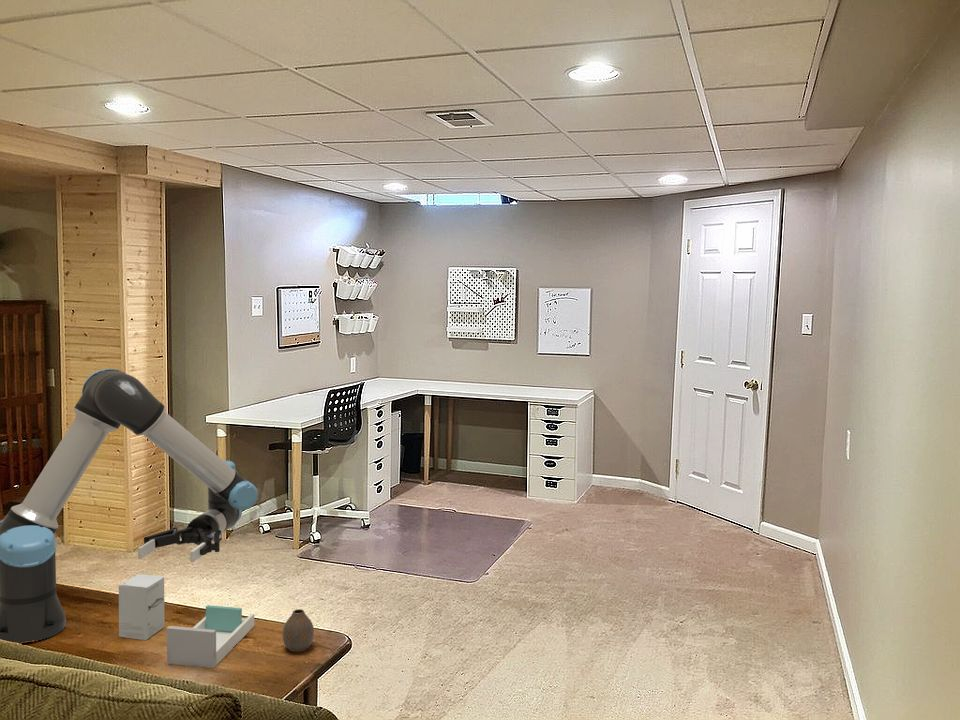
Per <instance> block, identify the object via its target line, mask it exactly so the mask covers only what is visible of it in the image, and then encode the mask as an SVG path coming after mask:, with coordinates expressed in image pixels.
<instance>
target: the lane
mask: <svg viewBox="0 0 960 720" xmlns="http://www.w3.org/2000/svg"><path fill="white" fill-rule="evenodd" d="M254 627H255V614H254V613H249V615H248V616H247V617H245V618H243V617H242V623H241V624H240V625H239V626H238V627H237V628H236V629H235V630H234V631H233V632H229V631H218V630H211V629H206V615H205V616H203V618H202V619H201V620H200V621H199V622H197V623H196V624H195V625H194V626H193V627H186V626H176V625H169V626H167V628H166V663H167V665H177V666H187V667H188V666H189V667H195V668H196V667H197V668H198V667H199V668H209V669H215V668H216V666H217V665H218V664H219V663H220V662H221V661H222V660H224V658H225V657H226V656H227V655H228V654H229V653H230V652H231V651H232V650H233V649H234V648H235V647H236V646H237V645H238V644H239V643H240V641H242V639H243V638H245V636H246V635H247V634H248V633H249V632H250V631H251V630H252V629H253V628H254ZM236 644H237V645H236ZM235 645H236V646H235ZM234 646H235V647H234ZM233 647H234V648H233Z"/></svg>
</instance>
